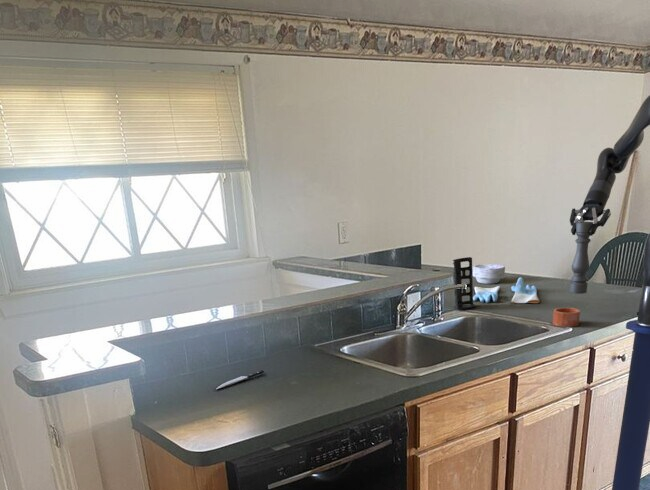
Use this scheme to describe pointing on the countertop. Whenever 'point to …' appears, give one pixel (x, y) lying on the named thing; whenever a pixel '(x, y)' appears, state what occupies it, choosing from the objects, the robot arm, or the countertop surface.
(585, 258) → the candle holder
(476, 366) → the countertop surface
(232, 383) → the chef's knife
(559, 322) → the holder cup
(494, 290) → the rubber gloves
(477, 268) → the paper bowls
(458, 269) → the holder
